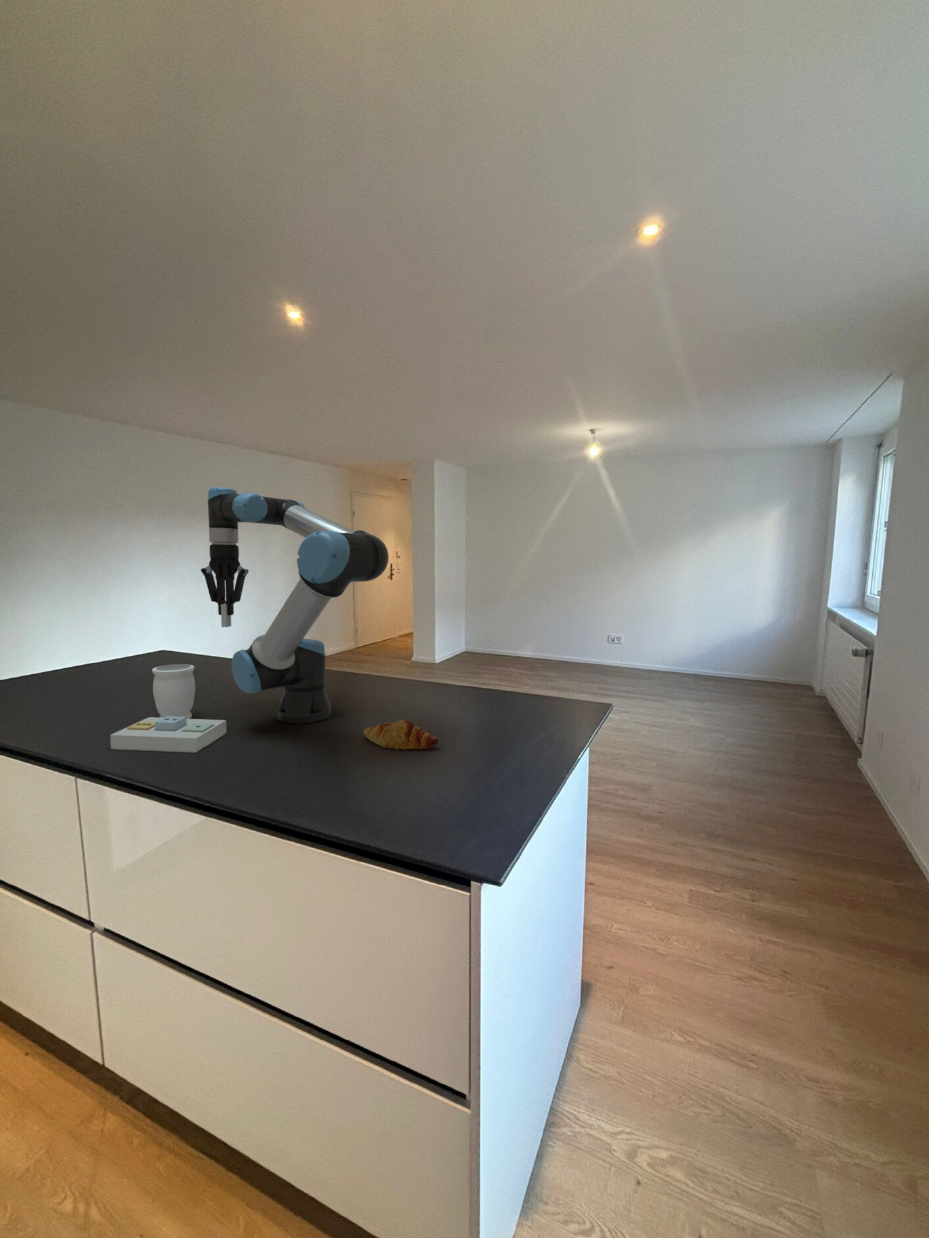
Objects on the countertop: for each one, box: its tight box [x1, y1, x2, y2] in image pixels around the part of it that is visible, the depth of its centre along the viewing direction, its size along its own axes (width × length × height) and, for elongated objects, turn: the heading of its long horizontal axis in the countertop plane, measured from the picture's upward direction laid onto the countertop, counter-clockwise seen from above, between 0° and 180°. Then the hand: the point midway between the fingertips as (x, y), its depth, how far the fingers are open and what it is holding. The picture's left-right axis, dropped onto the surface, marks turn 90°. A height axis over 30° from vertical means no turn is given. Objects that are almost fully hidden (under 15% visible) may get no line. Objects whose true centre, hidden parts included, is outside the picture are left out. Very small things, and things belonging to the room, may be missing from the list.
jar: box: [152, 663, 196, 719], centre depth 146 cm, size 11×10×15 cm
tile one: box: [183, 723, 213, 732], centre depth 129 cm, size 5×5×3 cm
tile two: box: [155, 716, 187, 731], centre depth 129 cm, size 5×5×3 cm
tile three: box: [126, 720, 155, 730], centre depth 129 cm, size 5×5×3 cm
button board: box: [109, 716, 227, 754], centre depth 129 cm, size 21×14×4 cm, turn 87°
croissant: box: [363, 718, 439, 750], centre depth 131 cm, size 21×10×8 cm, turn 71°
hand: (226, 626), depth 148 cm, fingers closed
